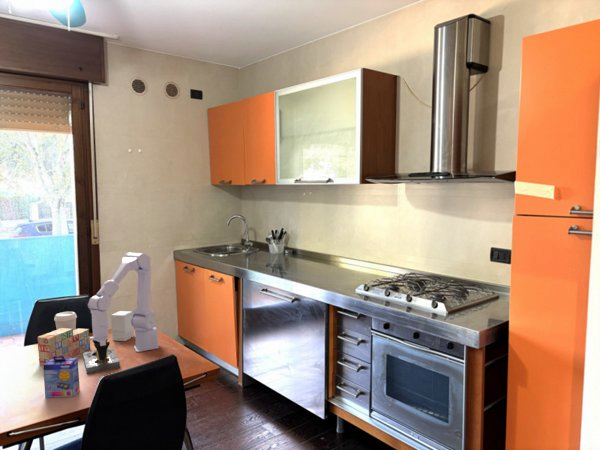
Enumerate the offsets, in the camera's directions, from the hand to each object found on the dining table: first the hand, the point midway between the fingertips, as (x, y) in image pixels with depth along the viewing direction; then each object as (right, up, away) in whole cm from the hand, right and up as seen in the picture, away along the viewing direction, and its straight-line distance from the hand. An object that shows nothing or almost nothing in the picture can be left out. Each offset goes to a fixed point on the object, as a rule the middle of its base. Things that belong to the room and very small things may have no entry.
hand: (101, 357), depth 179 cm
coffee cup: (-28, -2, +26) cm, 39 cm away
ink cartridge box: (-3, -6, -24) cm, 25 cm away
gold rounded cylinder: (0, -2, 0) cm, 2 cm away
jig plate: (-2, -3, +4) cm, 6 cm away
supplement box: (-5, -1, +35) cm, 35 cm away
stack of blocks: (-21, -4, +12) cm, 25 cm away
